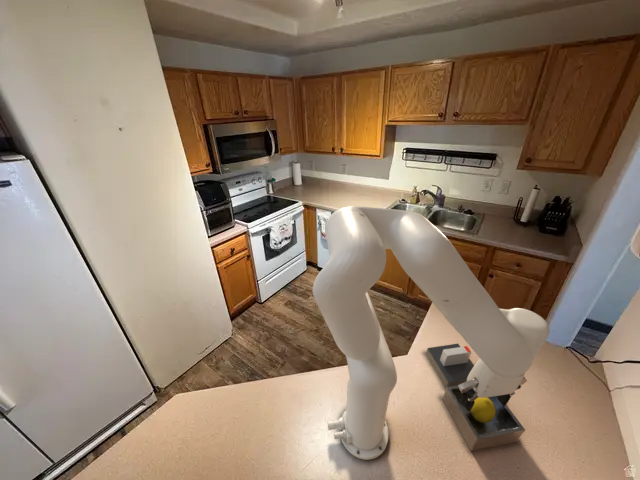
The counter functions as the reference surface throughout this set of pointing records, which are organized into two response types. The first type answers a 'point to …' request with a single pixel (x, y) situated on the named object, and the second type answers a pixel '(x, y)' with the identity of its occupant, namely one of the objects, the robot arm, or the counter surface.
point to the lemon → (483, 410)
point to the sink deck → (449, 367)
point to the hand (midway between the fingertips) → (482, 402)
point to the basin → (483, 434)
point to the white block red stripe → (455, 356)
